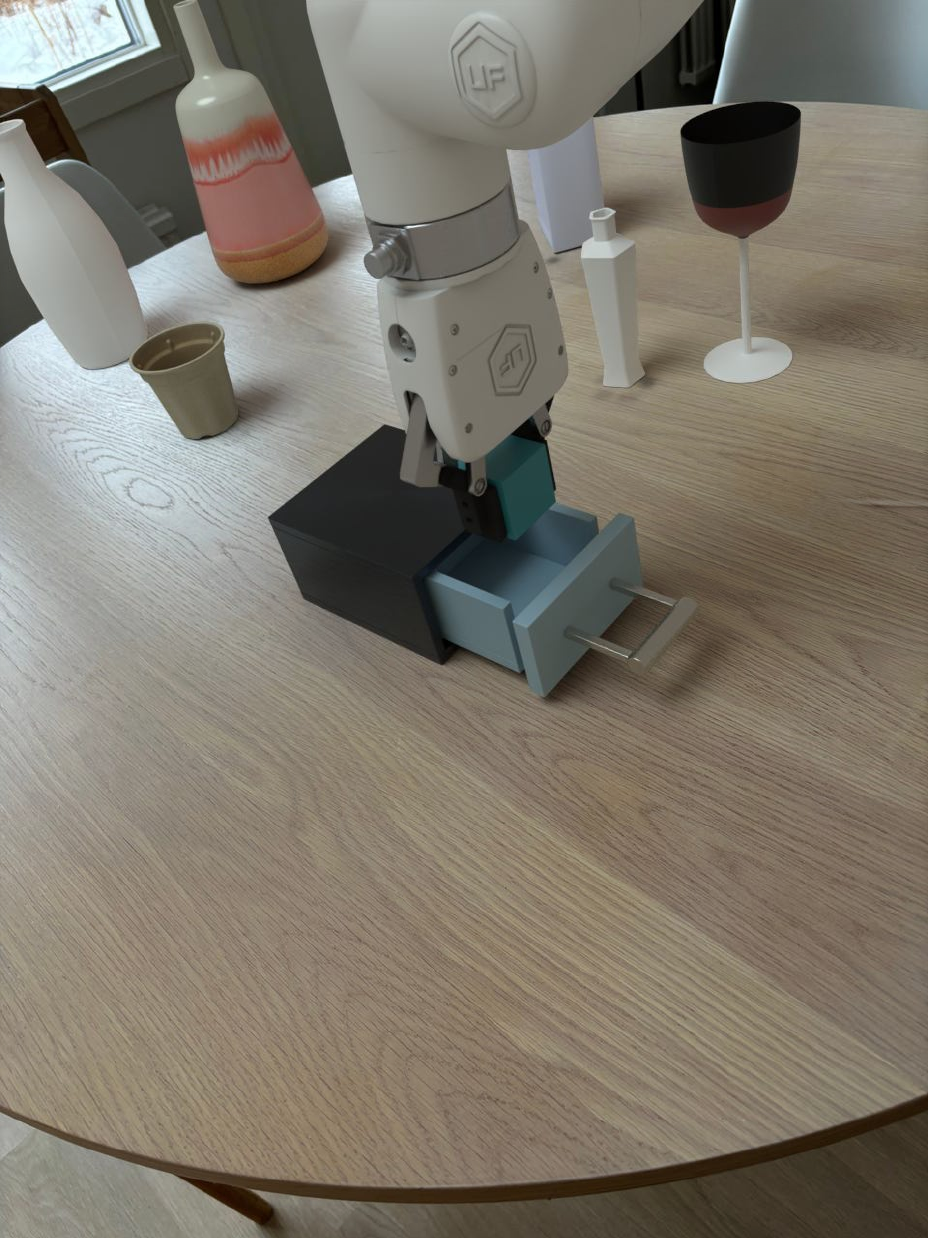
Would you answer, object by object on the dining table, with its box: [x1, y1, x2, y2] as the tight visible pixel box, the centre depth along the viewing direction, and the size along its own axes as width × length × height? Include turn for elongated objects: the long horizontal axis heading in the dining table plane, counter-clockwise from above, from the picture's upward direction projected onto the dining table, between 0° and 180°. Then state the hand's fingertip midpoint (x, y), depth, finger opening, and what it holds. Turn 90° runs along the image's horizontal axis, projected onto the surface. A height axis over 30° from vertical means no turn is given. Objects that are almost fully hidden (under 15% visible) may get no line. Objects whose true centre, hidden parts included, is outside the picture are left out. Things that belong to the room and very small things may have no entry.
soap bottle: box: [526, 115, 605, 254], centre depth 108 cm, size 9×7×23 cm
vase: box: [173, 0, 330, 285], centre depth 117 cm, size 14×14×30 cm
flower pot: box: [128, 321, 240, 440], centre depth 99 cm, size 9×9×9 cm
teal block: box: [458, 435, 557, 540], centre depth 62 cm, size 4×4×4 cm
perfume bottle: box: [580, 207, 646, 389], centre depth 86 cm, size 5×4×15 cm
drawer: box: [423, 501, 700, 698], centre depth 67 cm, size 20×11×6 cm, turn 50°
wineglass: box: [679, 100, 802, 384], centre depth 82 cm, size 8×9×20 cm
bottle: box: [0, 118, 149, 370], centre depth 111 cm, size 11×11×25 cm
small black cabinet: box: [267, 423, 473, 666], centre depth 74 cm, size 15×13×8 cm
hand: (510, 508), depth 63 cm, fingers closed on teal block, 4 cm apart
